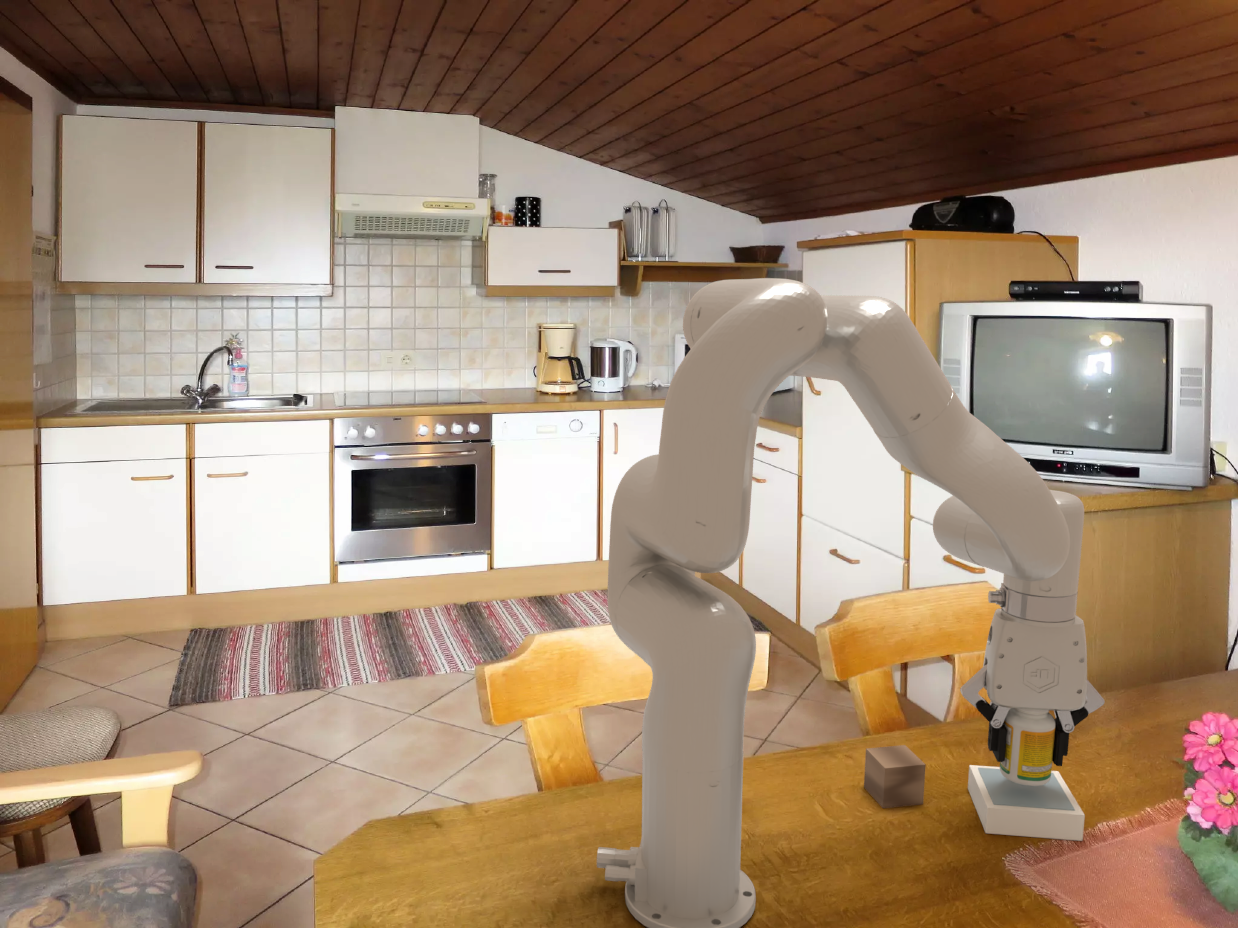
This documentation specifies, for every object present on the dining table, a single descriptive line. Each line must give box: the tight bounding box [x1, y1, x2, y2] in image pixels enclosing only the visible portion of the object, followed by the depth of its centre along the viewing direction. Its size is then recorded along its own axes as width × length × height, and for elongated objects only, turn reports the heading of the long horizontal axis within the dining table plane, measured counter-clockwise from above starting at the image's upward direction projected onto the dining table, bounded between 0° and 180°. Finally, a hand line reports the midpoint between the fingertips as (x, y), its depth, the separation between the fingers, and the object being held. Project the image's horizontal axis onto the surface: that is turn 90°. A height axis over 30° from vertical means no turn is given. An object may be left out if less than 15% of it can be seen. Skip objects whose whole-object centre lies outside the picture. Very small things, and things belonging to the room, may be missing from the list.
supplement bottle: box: [999, 708, 1056, 786], centre depth 111 cm, size 5×5×10 cm
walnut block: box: [863, 744, 926, 809], centre depth 116 cm, size 5×5×5 cm
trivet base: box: [967, 764, 1086, 842], centre depth 112 cm, size 10×10×3 cm
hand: (1026, 756), depth 111 cm, fingers closed on supplement bottle, 5 cm apart
